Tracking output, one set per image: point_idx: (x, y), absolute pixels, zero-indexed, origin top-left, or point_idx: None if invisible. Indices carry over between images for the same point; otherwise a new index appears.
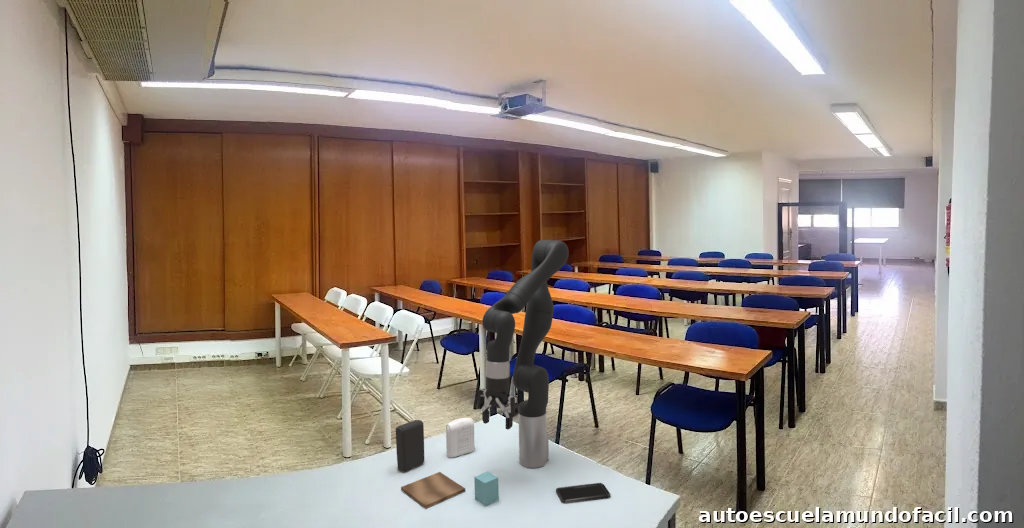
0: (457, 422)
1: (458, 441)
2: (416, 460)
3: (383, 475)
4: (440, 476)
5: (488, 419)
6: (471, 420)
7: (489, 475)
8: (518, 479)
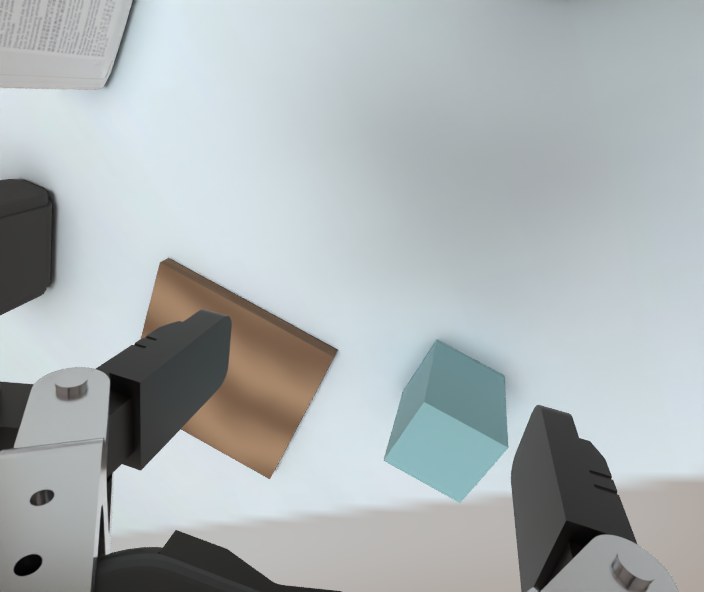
0: None
1: (49, 42)
2: (28, 245)
3: (16, 321)
4: (188, 298)
5: (214, 339)
6: None
7: (452, 438)
8: (544, 171)
